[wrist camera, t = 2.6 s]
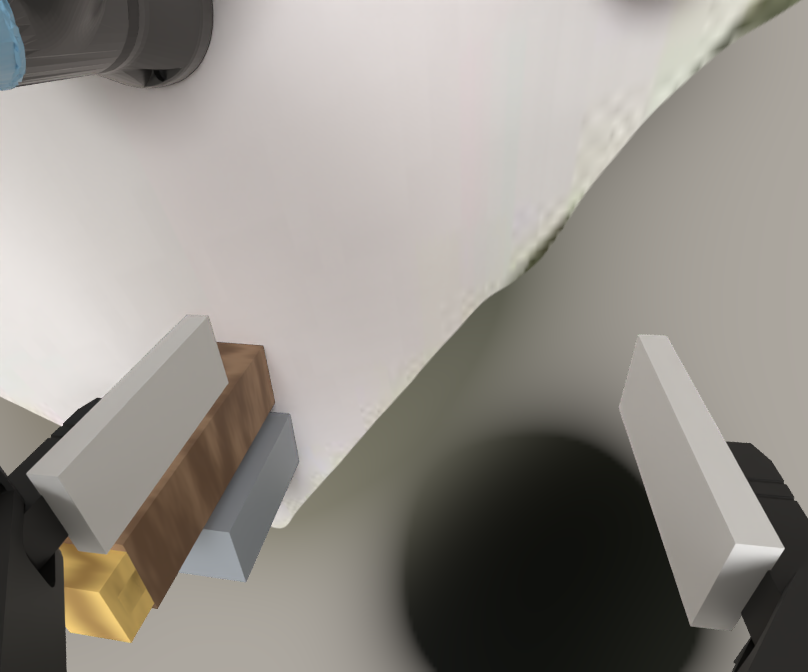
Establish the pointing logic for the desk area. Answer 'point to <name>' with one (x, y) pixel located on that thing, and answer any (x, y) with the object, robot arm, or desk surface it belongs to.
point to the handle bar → (103, 594)
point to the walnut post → (199, 472)
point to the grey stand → (247, 505)
